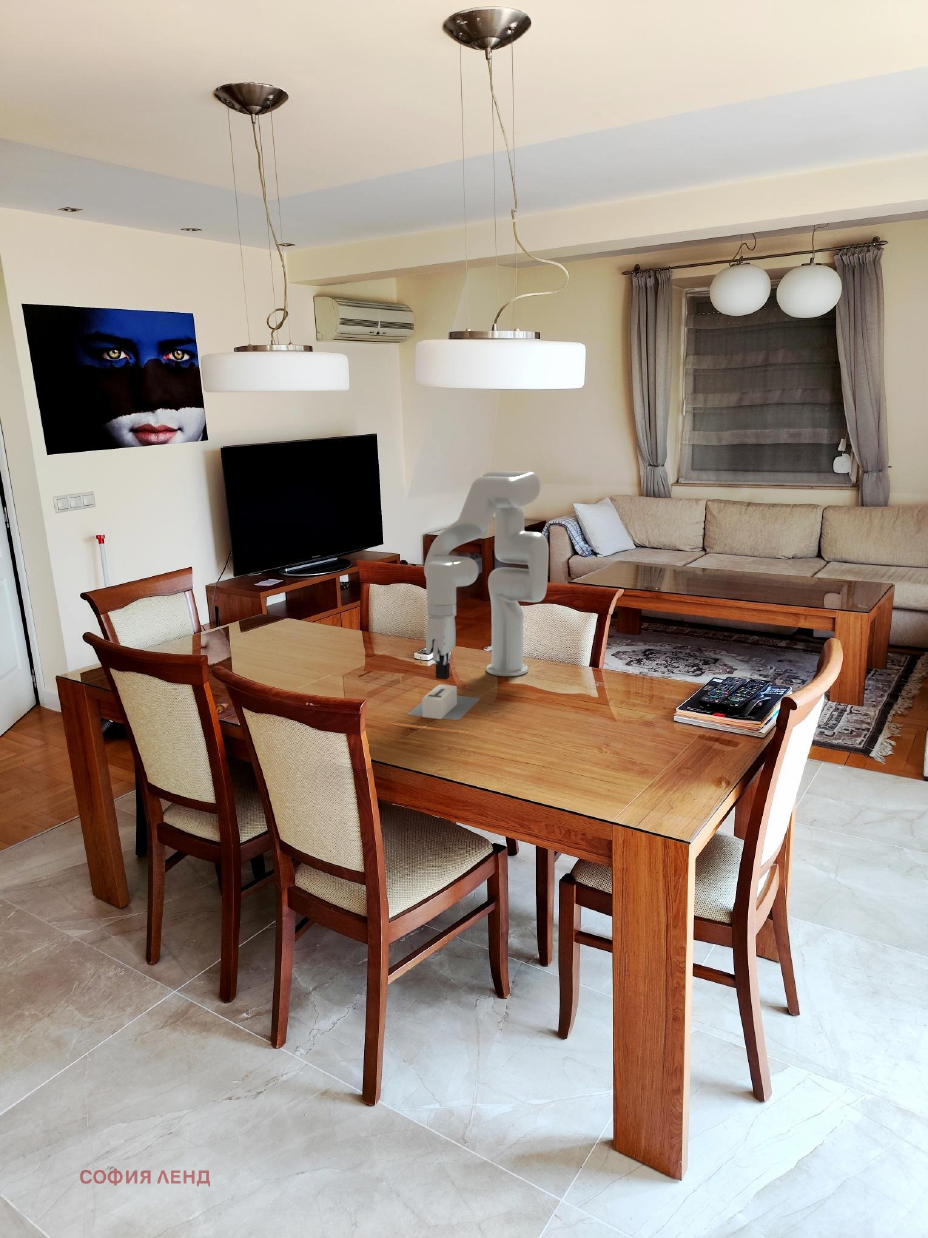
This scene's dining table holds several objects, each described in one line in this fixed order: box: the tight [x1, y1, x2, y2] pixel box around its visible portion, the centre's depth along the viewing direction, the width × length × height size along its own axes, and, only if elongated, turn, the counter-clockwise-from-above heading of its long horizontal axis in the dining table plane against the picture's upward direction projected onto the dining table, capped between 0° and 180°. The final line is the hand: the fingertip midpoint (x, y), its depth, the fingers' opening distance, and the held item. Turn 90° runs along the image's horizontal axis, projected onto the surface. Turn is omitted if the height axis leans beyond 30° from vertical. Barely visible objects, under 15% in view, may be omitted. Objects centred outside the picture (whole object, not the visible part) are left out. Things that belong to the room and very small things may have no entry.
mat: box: [407, 695, 481, 721], centre depth 223 cm, size 18×14×1 cm
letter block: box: [421, 684, 458, 720], centre depth 220 cm, size 5×5×12 cm
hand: (442, 678), depth 220 cm, fingers closed
